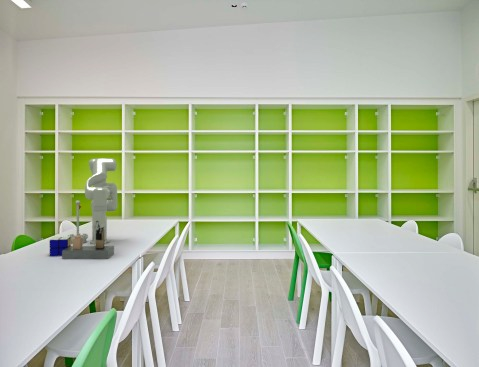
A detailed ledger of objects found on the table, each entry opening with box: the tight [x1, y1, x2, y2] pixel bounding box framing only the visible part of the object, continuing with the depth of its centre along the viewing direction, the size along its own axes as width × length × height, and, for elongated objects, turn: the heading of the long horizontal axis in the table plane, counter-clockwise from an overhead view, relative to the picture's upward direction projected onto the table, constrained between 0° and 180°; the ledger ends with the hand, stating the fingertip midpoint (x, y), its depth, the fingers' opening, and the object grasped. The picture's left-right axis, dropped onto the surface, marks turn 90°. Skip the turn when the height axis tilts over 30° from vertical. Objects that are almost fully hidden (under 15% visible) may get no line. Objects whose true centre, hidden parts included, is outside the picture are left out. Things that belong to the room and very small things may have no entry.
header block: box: [61, 245, 115, 260], centre depth 210 cm, size 12×26×5 cm, turn 94°
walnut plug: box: [95, 228, 106, 248], centre depth 210 cm, size 4×4×11 cm
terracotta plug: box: [72, 236, 83, 249], centre depth 210 cm, size 4×4×11 cm
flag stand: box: [67, 200, 89, 245], centre depth 249 cm, size 13×13×30 cm
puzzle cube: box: [49, 235, 72, 257], centre depth 215 cm, size 10×10×10 cm
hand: (100, 238), depth 210 cm, fingers closed on walnut plug, 4 cm apart
